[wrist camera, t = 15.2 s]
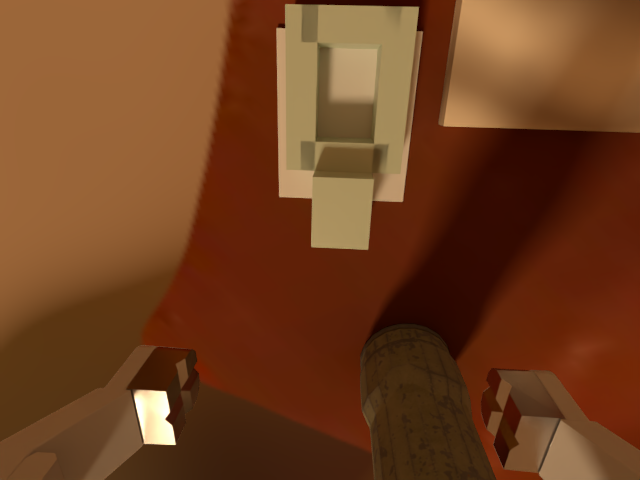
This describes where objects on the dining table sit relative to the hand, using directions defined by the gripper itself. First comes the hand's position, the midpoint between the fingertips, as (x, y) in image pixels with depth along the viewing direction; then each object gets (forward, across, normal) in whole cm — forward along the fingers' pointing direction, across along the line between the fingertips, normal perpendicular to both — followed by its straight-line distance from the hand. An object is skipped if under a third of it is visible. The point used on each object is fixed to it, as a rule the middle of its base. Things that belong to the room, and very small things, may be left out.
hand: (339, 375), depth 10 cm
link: (+21, 0, -4) cm, 21 cm away
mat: (+21, 0, -5) cm, 21 cm away
